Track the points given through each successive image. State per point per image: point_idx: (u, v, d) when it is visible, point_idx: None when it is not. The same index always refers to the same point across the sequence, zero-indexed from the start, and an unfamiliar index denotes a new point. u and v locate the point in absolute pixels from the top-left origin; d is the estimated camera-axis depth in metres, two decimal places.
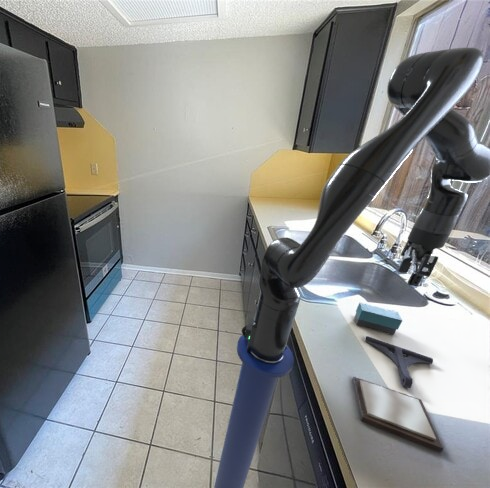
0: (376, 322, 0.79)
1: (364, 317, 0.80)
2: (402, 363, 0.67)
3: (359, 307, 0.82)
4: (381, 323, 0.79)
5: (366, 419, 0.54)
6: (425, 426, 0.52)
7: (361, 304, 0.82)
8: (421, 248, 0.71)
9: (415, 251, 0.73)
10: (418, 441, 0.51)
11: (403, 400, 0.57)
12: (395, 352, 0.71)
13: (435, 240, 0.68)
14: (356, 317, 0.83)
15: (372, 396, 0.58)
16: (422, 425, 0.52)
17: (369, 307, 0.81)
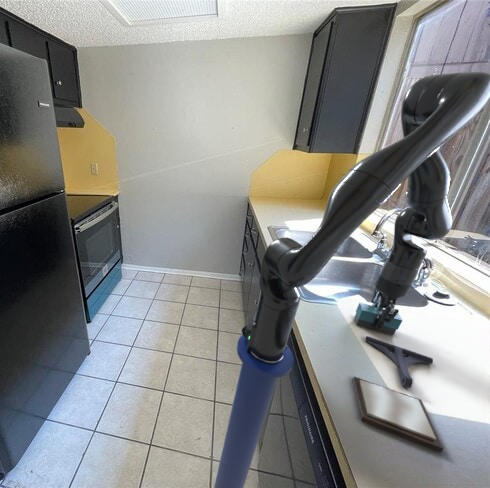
0: None
1: (364, 317, 0.80)
2: (402, 363, 0.67)
3: (359, 307, 0.82)
4: None
5: (366, 419, 0.54)
6: (425, 426, 0.52)
7: (361, 304, 0.82)
8: (386, 296, 0.75)
9: (381, 298, 0.76)
10: (418, 441, 0.51)
11: (403, 400, 0.57)
12: (395, 352, 0.71)
13: (398, 290, 0.72)
14: (356, 317, 0.83)
15: (372, 396, 0.58)
16: (422, 425, 0.52)
17: (369, 306, 0.81)
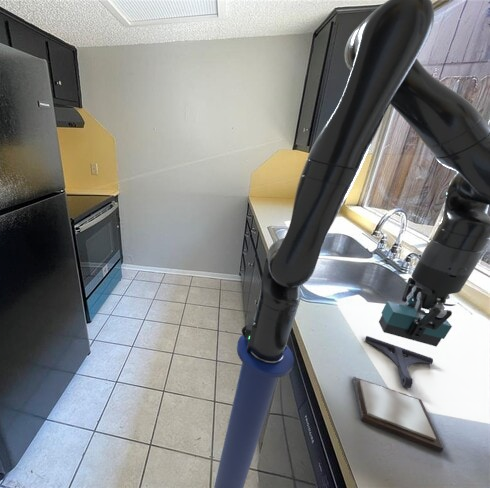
0: None
1: (396, 321, 0.58)
2: (402, 363, 0.67)
3: (387, 308, 0.60)
4: None
5: (366, 419, 0.54)
6: (425, 426, 0.52)
7: (390, 303, 0.60)
8: (430, 292, 0.53)
9: (422, 294, 0.54)
10: (418, 441, 0.51)
11: (403, 400, 0.57)
12: (395, 352, 0.71)
13: (451, 283, 0.50)
14: (383, 321, 0.61)
15: (372, 396, 0.58)
16: (422, 425, 0.52)
17: (401, 307, 0.59)
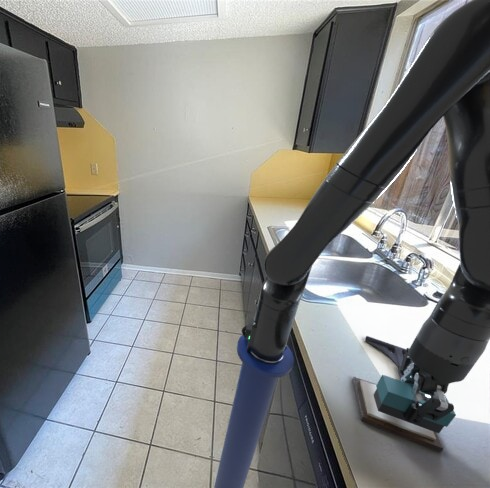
0: None
1: (391, 402, 0.51)
2: None
3: (382, 383, 0.53)
4: None
5: (366, 419, 0.54)
6: None
7: (385, 378, 0.53)
8: (429, 376, 0.46)
9: (420, 377, 0.47)
10: (418, 441, 0.51)
11: None
12: (395, 352, 0.71)
13: (453, 372, 0.43)
14: (377, 397, 0.54)
15: (372, 396, 0.58)
16: None
17: (398, 384, 0.52)
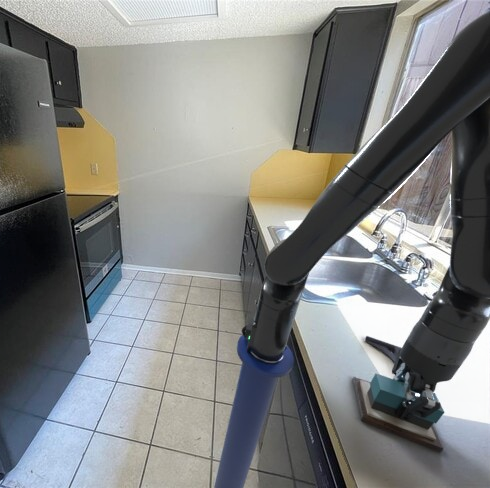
0: None
1: (383, 399, 0.53)
2: None
3: (375, 382, 0.55)
4: None
5: (366, 419, 0.54)
6: None
7: (378, 377, 0.55)
8: (419, 376, 0.48)
9: (410, 376, 0.50)
10: (418, 441, 0.51)
11: None
12: (395, 352, 0.71)
13: (440, 372, 0.45)
14: (371, 395, 0.56)
15: None
16: None
17: (390, 382, 0.54)
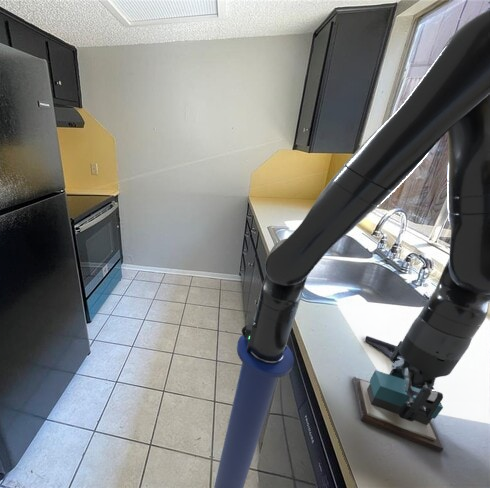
0: (401, 405, 0.53)
1: (383, 396, 0.54)
2: None
3: (375, 378, 0.56)
4: None
5: (366, 419, 0.54)
6: (425, 426, 0.52)
7: (378, 373, 0.56)
8: (418, 371, 0.49)
9: (409, 372, 0.50)
10: (418, 441, 0.51)
11: None
12: None
13: (439, 367, 0.46)
14: (370, 391, 0.57)
15: None
16: (422, 425, 0.52)
17: (390, 379, 0.55)
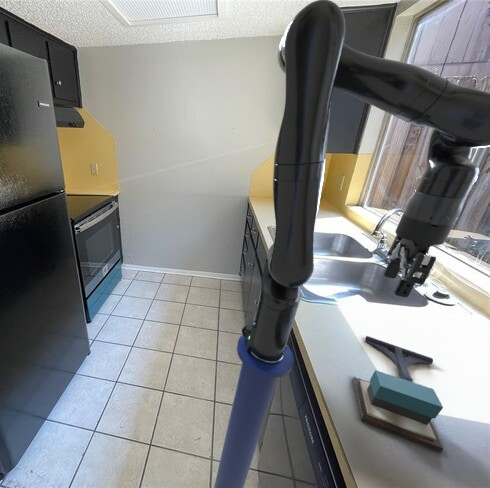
0: (401, 405, 0.53)
1: (383, 396, 0.54)
2: (402, 363, 0.67)
3: (375, 378, 0.56)
4: (409, 407, 0.52)
5: (366, 419, 0.54)
6: (425, 426, 0.52)
7: (378, 373, 0.56)
8: (413, 245, 0.51)
9: (405, 249, 0.53)
10: (418, 441, 0.51)
11: None
12: (395, 352, 0.71)
13: (433, 233, 0.48)
14: (370, 391, 0.57)
15: None
16: (422, 425, 0.52)
17: (390, 379, 0.55)
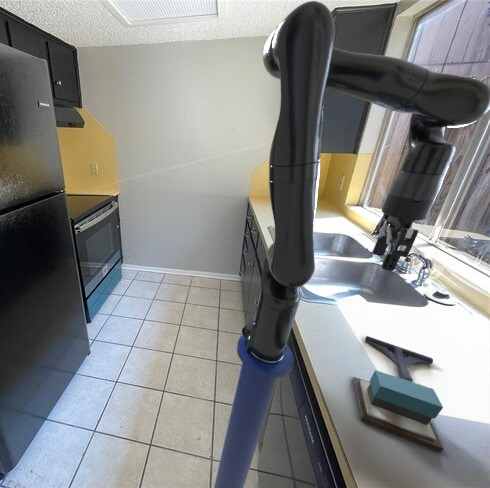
0: (401, 405, 0.53)
1: (383, 396, 0.54)
2: (402, 363, 0.67)
3: (375, 378, 0.56)
4: (409, 407, 0.52)
5: (366, 419, 0.54)
6: (425, 426, 0.52)
7: (378, 373, 0.56)
8: (397, 221, 0.55)
9: (390, 225, 0.56)
10: (418, 441, 0.51)
11: None
12: (395, 352, 0.71)
13: (415, 209, 0.52)
14: (370, 391, 0.57)
15: None
16: (422, 425, 0.52)
17: (390, 379, 0.55)
